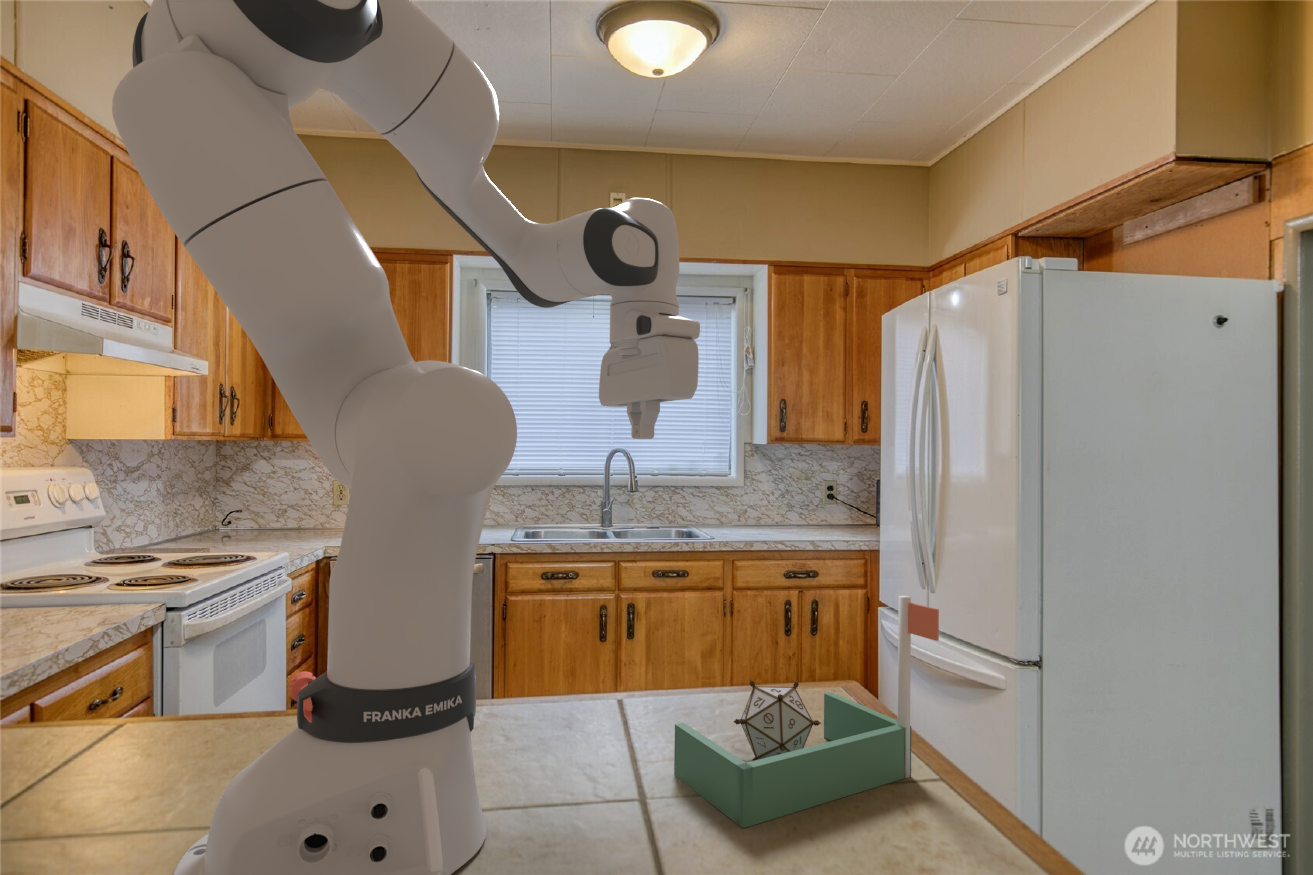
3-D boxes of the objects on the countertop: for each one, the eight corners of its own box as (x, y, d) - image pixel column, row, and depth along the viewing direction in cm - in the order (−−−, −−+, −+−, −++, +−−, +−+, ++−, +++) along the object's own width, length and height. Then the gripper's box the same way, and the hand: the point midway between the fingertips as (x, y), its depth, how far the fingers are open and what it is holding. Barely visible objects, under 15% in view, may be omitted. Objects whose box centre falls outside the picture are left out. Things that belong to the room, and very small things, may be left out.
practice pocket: (768, 848, 57) (770, 627, 58) (674, 774, 70) (676, 594, 71) (941, 790, 68) (941, 603, 68) (830, 735, 81) (832, 578, 81)
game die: (783, 788, 76) (826, 705, 79) (797, 796, 68) (845, 703, 71) (712, 739, 78) (757, 660, 81) (718, 741, 70) (767, 653, 73)
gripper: (588, 339, 97) (586, 439, 97) (662, 315, 80) (660, 437, 79) (628, 344, 101) (627, 440, 100) (708, 321, 83) (707, 438, 82)
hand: (642, 438), depth 90 cm, fingers closed
